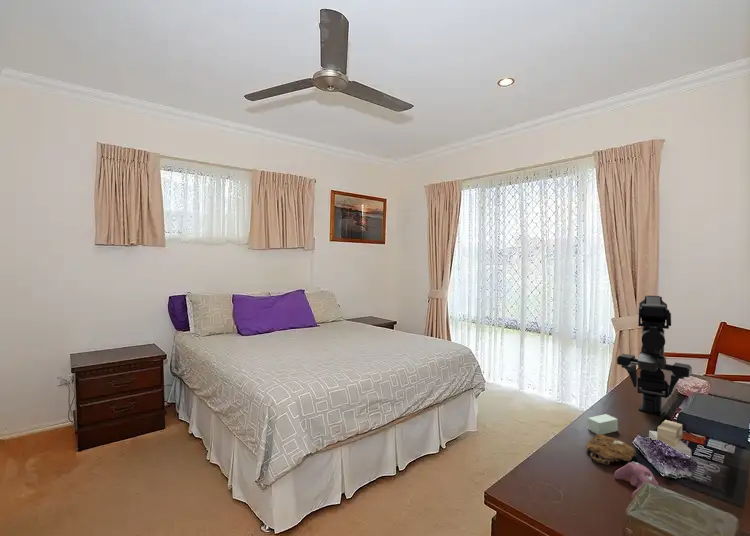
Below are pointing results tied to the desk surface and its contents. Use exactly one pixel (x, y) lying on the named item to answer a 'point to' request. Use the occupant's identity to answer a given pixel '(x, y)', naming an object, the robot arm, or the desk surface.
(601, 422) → the sage brick
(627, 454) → the decorative rock
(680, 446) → the white brick
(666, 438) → the birch brick
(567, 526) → the desk surface
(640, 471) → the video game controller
